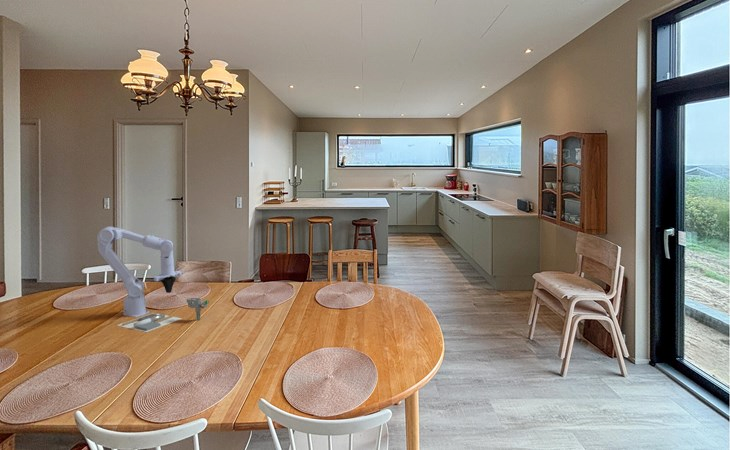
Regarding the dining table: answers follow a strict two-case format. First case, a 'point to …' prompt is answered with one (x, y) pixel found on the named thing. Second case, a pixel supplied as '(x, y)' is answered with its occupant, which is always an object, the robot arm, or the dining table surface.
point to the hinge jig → (148, 323)
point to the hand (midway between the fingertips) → (168, 292)
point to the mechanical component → (197, 305)
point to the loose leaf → (153, 317)
